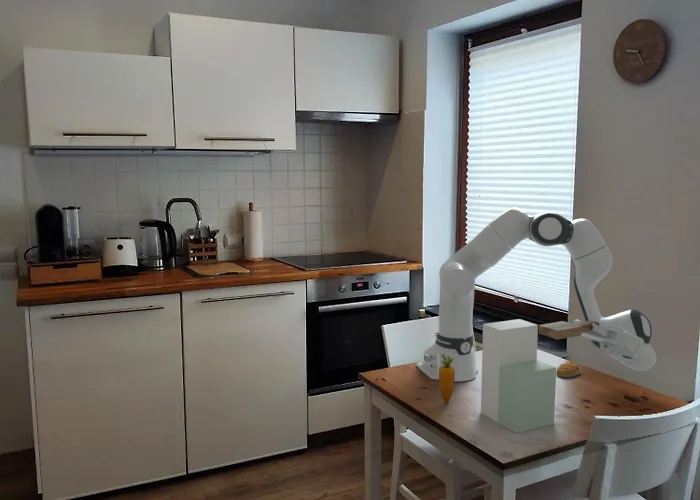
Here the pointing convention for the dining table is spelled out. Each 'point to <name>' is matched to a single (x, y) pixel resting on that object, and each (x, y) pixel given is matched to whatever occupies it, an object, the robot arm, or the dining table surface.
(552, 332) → the brown block
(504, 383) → the white two-tone stepped block
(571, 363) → the pastry
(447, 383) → the carrot
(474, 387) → the dining table surface
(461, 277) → the robot arm
